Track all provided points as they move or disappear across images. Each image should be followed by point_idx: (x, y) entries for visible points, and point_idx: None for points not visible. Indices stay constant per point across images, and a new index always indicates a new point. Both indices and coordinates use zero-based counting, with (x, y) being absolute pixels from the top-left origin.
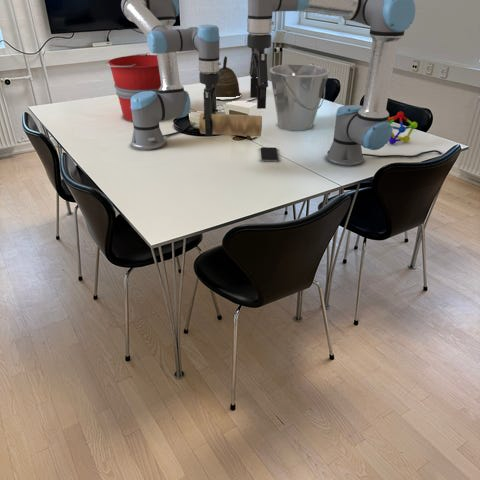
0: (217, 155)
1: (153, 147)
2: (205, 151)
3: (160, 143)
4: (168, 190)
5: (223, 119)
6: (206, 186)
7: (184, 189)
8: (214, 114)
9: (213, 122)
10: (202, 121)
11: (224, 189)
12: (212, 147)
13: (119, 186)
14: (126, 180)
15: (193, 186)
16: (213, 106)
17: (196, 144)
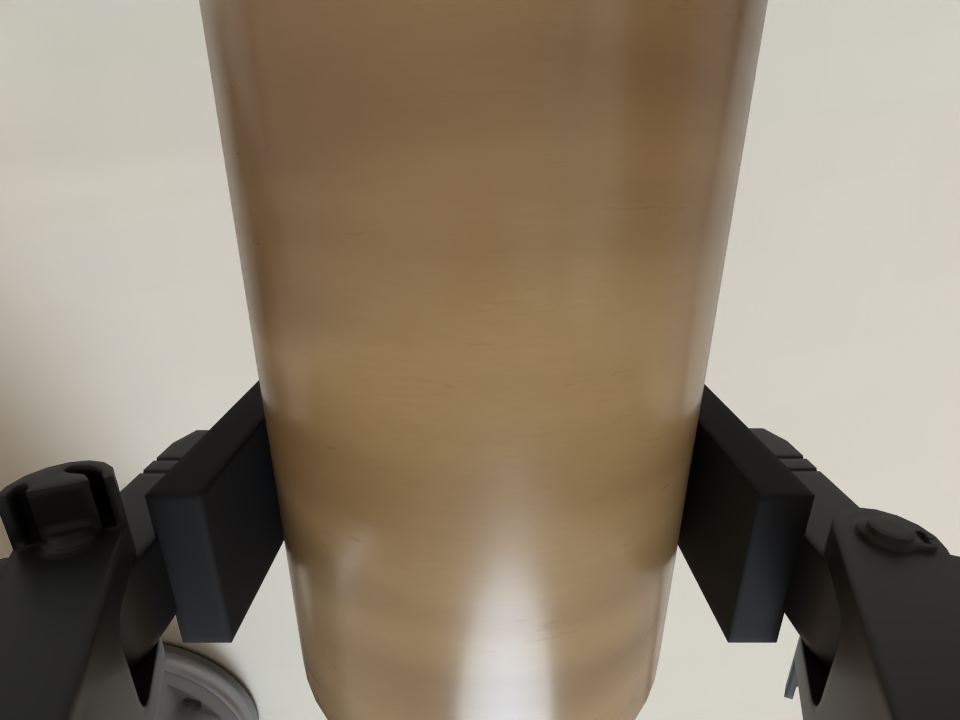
0: (199, 270)
1: (225, 686)
2: (147, 376)
3: (169, 672)
4: (845, 477)
5: (716, 176)
6: (809, 257)
7: (843, 391)
8: (507, 508)
9: (697, 422)
10: (660, 632)
11: (881, 105)
12: (41, 338)
13: (766, 698)
14: (691, 689)
15: (801, 345)
16: (94, 715)
17: (32, 461)
